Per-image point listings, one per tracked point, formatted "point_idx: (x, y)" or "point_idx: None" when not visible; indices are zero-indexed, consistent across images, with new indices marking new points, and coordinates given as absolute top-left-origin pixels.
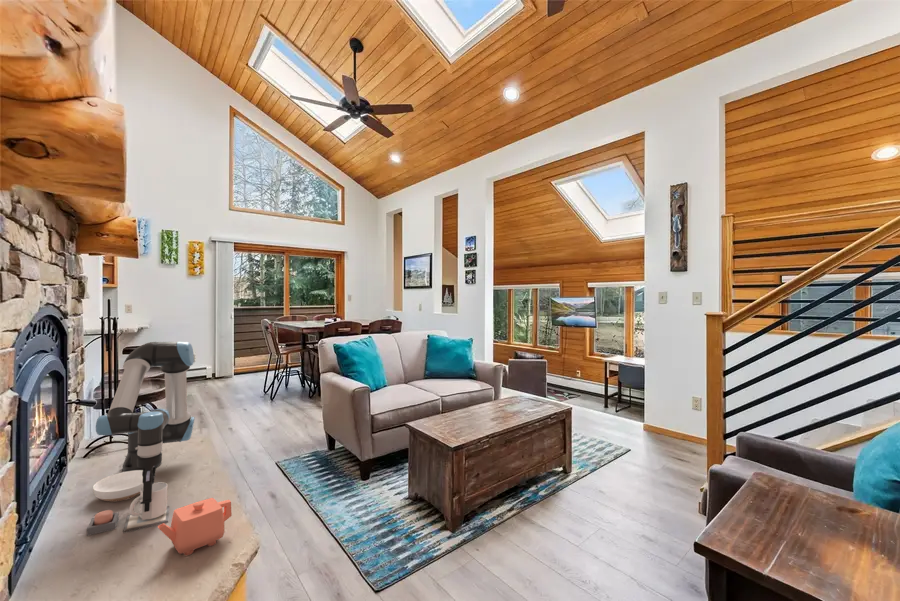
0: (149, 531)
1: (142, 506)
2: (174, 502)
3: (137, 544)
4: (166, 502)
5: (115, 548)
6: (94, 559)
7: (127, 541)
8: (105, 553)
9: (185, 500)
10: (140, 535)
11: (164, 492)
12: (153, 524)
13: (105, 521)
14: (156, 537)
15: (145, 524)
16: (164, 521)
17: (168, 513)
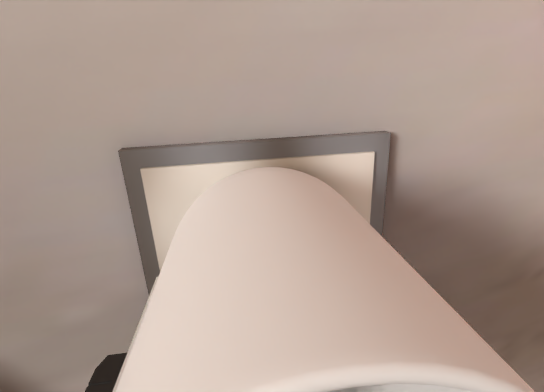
0: (438, 225)
1: (359, 389)
2: (30, 114)
3: (540, 257)
4: (305, 191)
5: (504, 336)
6: (535, 382)
7: (474, 306)
8: (518, 360)
9: (9, 10)
10: (453, 261)
11: (439, 304)
12: (380, 218)
13: None
14: (539, 176)
15: None
16: (388, 156)
17: (269, 142)
